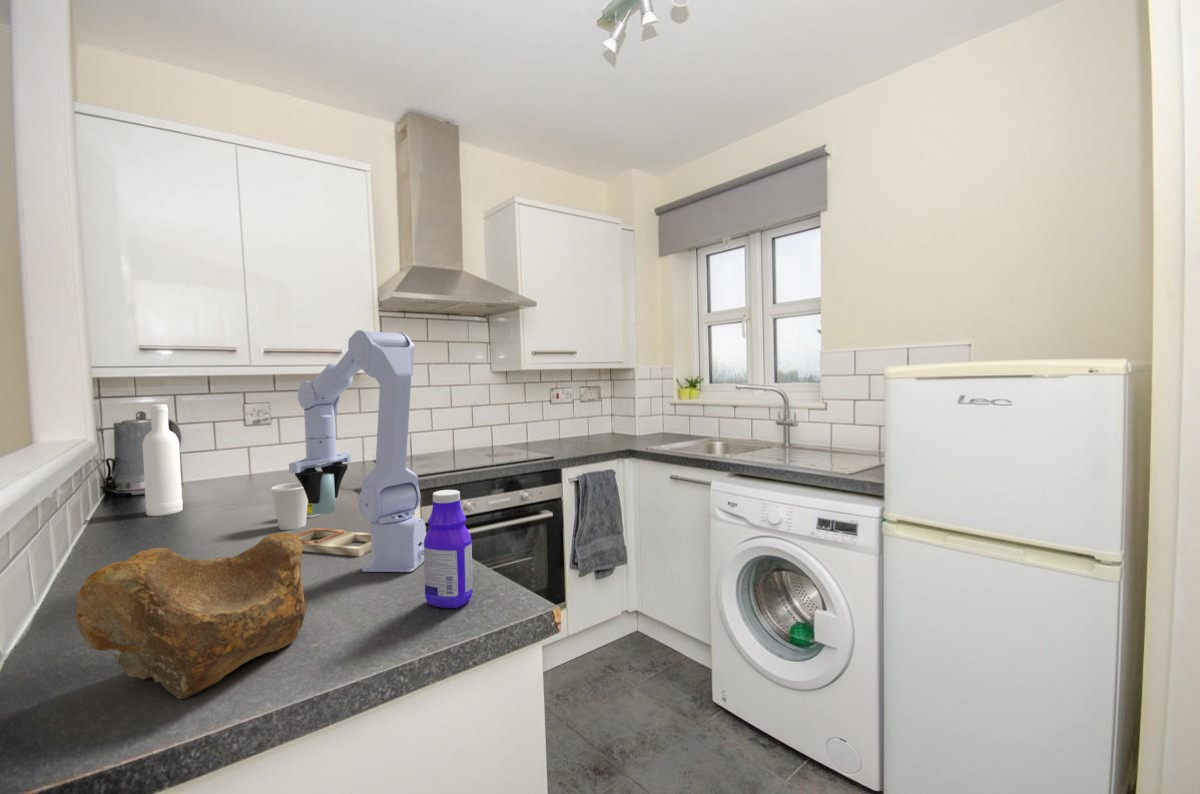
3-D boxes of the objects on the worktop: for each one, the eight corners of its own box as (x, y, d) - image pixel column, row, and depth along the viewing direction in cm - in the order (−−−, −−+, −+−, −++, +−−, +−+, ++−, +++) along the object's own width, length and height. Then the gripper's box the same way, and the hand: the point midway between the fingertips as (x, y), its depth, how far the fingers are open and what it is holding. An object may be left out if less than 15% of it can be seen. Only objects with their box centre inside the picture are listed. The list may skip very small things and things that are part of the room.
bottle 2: (479, 597, 83) (476, 489, 83) (459, 613, 78) (454, 497, 77) (441, 592, 86) (437, 487, 85) (418, 607, 80) (414, 494, 80)
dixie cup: (274, 524, 130) (272, 484, 129) (312, 520, 134) (310, 481, 133) (270, 533, 122) (268, 491, 122) (311, 528, 126) (309, 486, 126)
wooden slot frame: (391, 541, 114) (391, 533, 114) (359, 556, 105) (359, 547, 105) (315, 535, 120) (314, 527, 120) (278, 548, 111) (278, 540, 111)
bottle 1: (169, 508, 150) (163, 404, 149) (190, 509, 148) (184, 403, 147) (138, 515, 143) (132, 405, 142) (160, 516, 141) (153, 405, 140)
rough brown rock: (77, 759, 50) (74, 609, 49) (77, 677, 62) (74, 554, 61) (334, 668, 67) (337, 554, 66) (296, 617, 79) (297, 519, 77)
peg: (339, 509, 115) (338, 472, 115) (327, 514, 111) (326, 476, 110) (320, 508, 115) (319, 472, 115) (307, 514, 111) (306, 476, 111)
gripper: (332, 433, 120) (334, 492, 121) (276, 441, 107) (279, 507, 107) (357, 433, 118) (359, 493, 119) (303, 442, 104) (306, 509, 105)
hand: (323, 500), depth 113 cm, fingers closed on peg, 4 cm apart
